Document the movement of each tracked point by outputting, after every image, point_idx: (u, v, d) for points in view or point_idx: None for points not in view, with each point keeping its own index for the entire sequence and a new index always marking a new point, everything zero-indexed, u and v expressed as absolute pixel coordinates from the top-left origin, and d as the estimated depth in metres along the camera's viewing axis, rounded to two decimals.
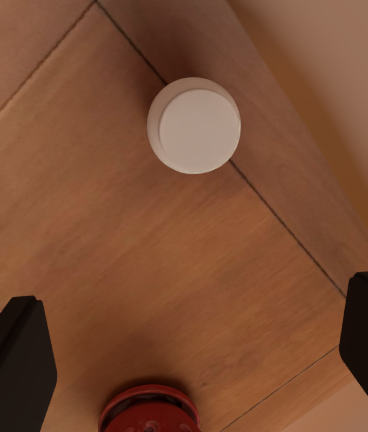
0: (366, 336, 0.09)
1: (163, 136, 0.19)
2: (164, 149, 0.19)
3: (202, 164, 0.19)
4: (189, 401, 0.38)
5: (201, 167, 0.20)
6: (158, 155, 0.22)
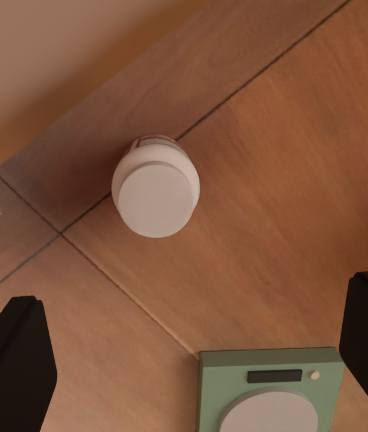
0: (366, 336, 0.09)
1: (158, 234, 0.21)
2: (169, 234, 0.21)
3: (186, 201, 0.20)
4: None
5: (189, 203, 0.20)
6: None
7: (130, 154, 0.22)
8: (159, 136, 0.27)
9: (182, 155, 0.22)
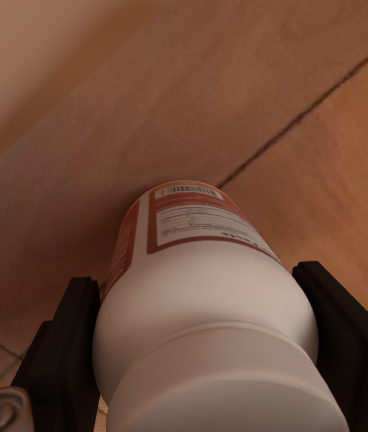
0: None
1: None
2: None
3: None
4: None
5: None
6: None
7: (135, 282, 0.08)
8: (192, 190, 0.13)
9: (277, 272, 0.08)
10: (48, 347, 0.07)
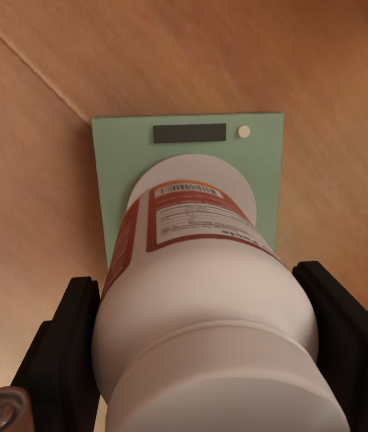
0: None
1: None
2: None
3: None
4: None
5: None
6: None
7: (135, 280, 0.08)
8: (192, 189, 0.13)
9: (277, 270, 0.08)
10: (48, 347, 0.07)
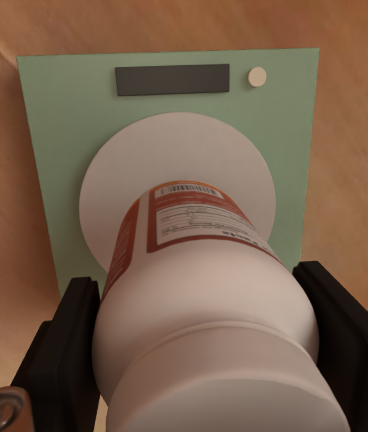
0: None
1: None
2: None
3: None
4: None
5: None
6: None
7: (135, 281, 0.08)
8: (192, 189, 0.13)
9: (278, 271, 0.08)
10: (48, 347, 0.07)
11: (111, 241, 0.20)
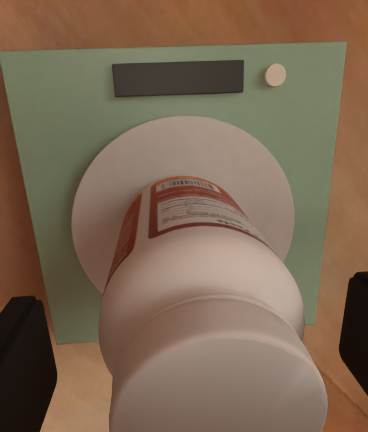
0: (366, 336, 0.09)
1: None
2: None
3: (306, 413, 0.07)
4: None
5: (314, 415, 0.07)
6: None
7: (138, 262, 0.09)
8: (191, 184, 0.14)
9: (266, 254, 0.09)
10: None
11: (108, 261, 0.18)
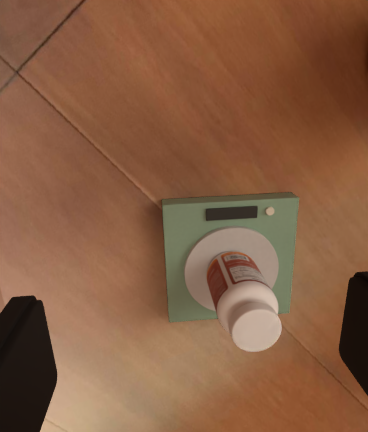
0: (366, 336, 0.09)
1: (257, 349, 0.31)
2: (265, 348, 0.31)
3: (276, 328, 0.30)
4: None
5: (278, 329, 0.30)
6: None
7: (232, 292, 0.32)
8: (238, 258, 0.37)
9: (267, 289, 0.32)
10: None
11: (198, 285, 0.41)
